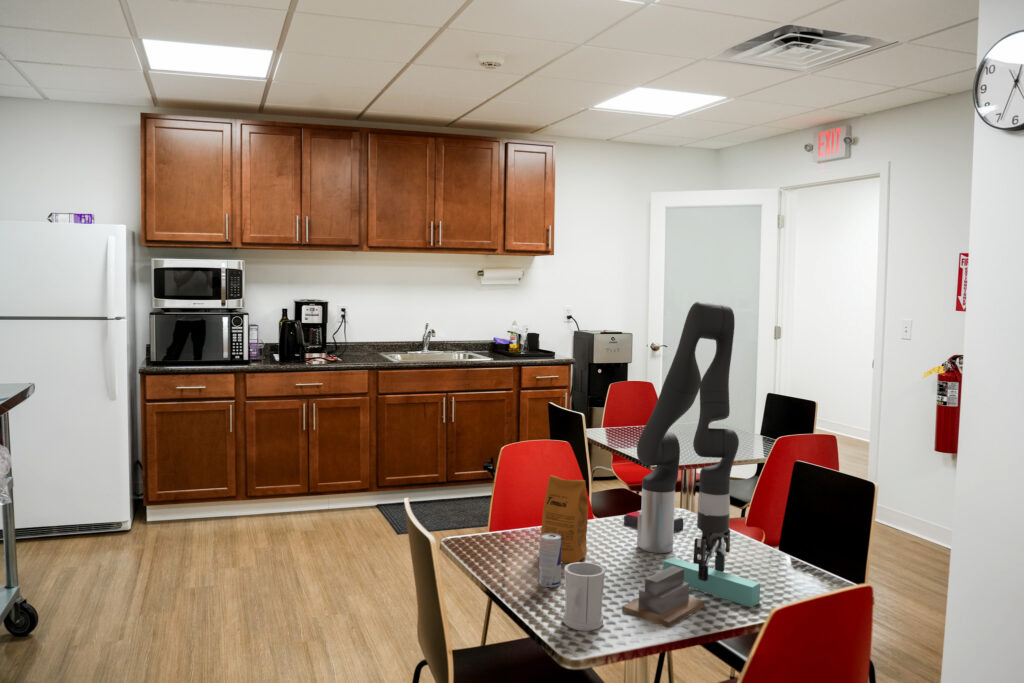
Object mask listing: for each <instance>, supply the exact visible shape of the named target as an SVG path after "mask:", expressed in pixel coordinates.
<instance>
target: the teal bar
mask: <svg viewBox="0 0 1024 683" xmlns="http://www.w3.org/2000/svg"><path fill="white" fill-rule="evenodd" d="M662 563H663V564H662V567H663V568H662V571H663V570H665V569H667V568H669V567H671V566H676V567H679V568H683V569H684V582H687V583H689V587H691V588H690V589H692V588H694V589H693V590H695V589H697V590H696V591H699V590H700V591H699V592H702V591H703V592H702V593H705V592H706V593H705V594H708V593H709V595H711V594H712V595H711V596H714V595H715V597H717V596H718V598H721V599H724V600H727V601H731V602H733V603H737V604H740V605H744V606H746V607H750V608H753V607H754V606H756V605H758V604H759V603H760V601H761V599H760V597H761V595H760V594H761V582H758V581H754V580H751V579H748V578H744V577H741V576H737V575H733V574H731V573H727V572H724V571H723V572H721V571H717V570H715V568H709V567H708V580H707V581H702V580H699V579H698V570H699V565H698V564H696V563H694V562H690V561H686V560H682V559H679V558H676V557H670V558H667V559H664V560H663V562H662Z"/></svg>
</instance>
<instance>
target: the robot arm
mask: <svg viewBox="0 0 1024 683" xmlns="http://www.w3.org/2000/svg"><path fill="white" fill-rule="evenodd" d="M734 335H735V314H734V311H733V308H732V307H730V306H729V305H727V304H726V305H725V304H720V303H714V302H707V301H696V302H694V303H693V304H692V306H691V307H690V308H689V310H688V312H687V316H686V319H685V321H684V325H683V329H682V332H681V336H680V339H679V341H678V346H677V349H676V352H675V354H674V357H673V359H672V362H671V365H670V367H669V369H668V372H667V374H666V377H665V380H664V381H663V385H662V387H661V391H660V393H659V396H658V399H657V400H656V403H655V406H654V407H653V410H652V412H651V415H650V417H649V419H648V420H647V423H646V425H645V426H644V428H643V430H642V432H641V434H640V436H639V439H638V441H637V447H636V456H637V459H638V461H639V462H640V463H641V465H645V466H648V467H649V466H651V467H652V466H656V467H655V468H654V469H653V470H652V471H651V472H650V473H648V474H647V475H645V476H644V477H643V478H642V481H641V508H640V510H641V513H639V514H638V528H637V530H636V531H637V536H636V537H637V538H636V547H638V548H640V549H641V550H643V551H646V552H647V553H648V552H649V553H652V554H667V553H671V552H672V551H673V550H674V548H673V547H674V533H675V532H674V516H675V506H676V505H675V502H676V501H675V499H676V497H675V496H676V484H677V483H678V478H679V468H680V456H681V447H680V445H681V444H680V442H679V438H678V437H677V435H676V434H675V433H673V432H672V431H668V430H669V429H670V428H671V427H672V426H673V425H674V424H675V423H676V422H677V421H678V420H679V419H680V418H682V417H683V415H685V414H686V413H687V412H688V411H689V410H690V409H691V407H692V406H693V404H694V403H695V401H696V399H697V397H698V393H699V418H698V422H697V423H698V424H697V427H696V430H695V433H694V438H693V443H692V447H693V450H694V451H695V452H694V453H695V454H696V455H697V456H699V457H700V458H713V459H714V458H716V459H720V461H719V462H717V463H716V464H713V465H708V466H704V467H701V469H700V472H699V490H698V493H699V494H698V497H697V518H696V519H697V520H696V525H697V526H696V527H697V529H699V530H700V531H701V533H702V534H701V538H696V537H695V539H694V543H693V544H694V546H693V558H692V559H693V561H692V563H693V564H697V565H699V570H698V579H699V580H702V581H707V580H708V568H709V564H710V560H711V559H713V557H715V558H714V570H717V571H721V572H724V571H725V564H726V563H725V561H726V557H727V553H728V554H729V553H730V550H731V529H730V512H731V511H730V510H731V509H730V508H731V504H730V503H731V500H730V499H731V498H730V485H731V484H730V481H731V472H732V467H733V464H734V461H735V458H736V457H737V456H736V455H737V453H738V450H739V446H740V445H739V444H740V439H739V436H738V434H737V433H736V431H735V430H733V429H730V428H710V427H709V425H710V424H711V423H713V422H718V421H724V420H725V419H727V418H729V416H730V410H731V409H730V386H729V385H730V370H731V369H730V368H731V361H732V355H733V354H732V353H733V344H734ZM700 339H704V340H713V341H715V347H716V348H715V355H714V357H713V359H712V361H711V363H710V364H709V366H708V367H707V370H705V372H704V374H703V377H701V372H700V368H699V365H698V361H697V358H696V350H697V346H698V342H699V341H700ZM714 555H715V556H714Z"/></svg>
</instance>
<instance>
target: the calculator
mask: <svg viewBox="0 0 1024 683" xmlns="http://www.w3.org/2000/svg"><path fill="white" fill-rule="evenodd" d="M639 513H641V509H640V510H637V511H633V512H628V513H626V514H625V515H623V524H624V525H626V524H627V525H626V526H629V525H630V526H629V527H632V526H633V527H634V528H637V529H638V514H639ZM680 529H682V530H684V518H683V517H681V516H678V515H674V531H676V532H678V531H677V530H679V531H681V530H680Z"/></svg>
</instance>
